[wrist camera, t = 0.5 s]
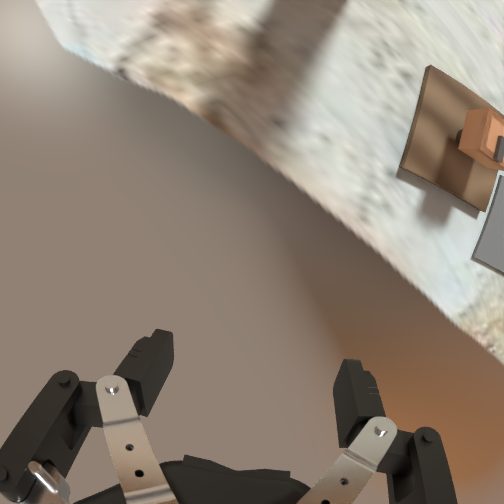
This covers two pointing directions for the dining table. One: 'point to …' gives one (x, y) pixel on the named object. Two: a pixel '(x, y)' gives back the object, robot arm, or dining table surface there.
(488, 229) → the mat
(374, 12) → the dining table surface
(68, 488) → the robot arm
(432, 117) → the brown board
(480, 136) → the tan cube with tab
